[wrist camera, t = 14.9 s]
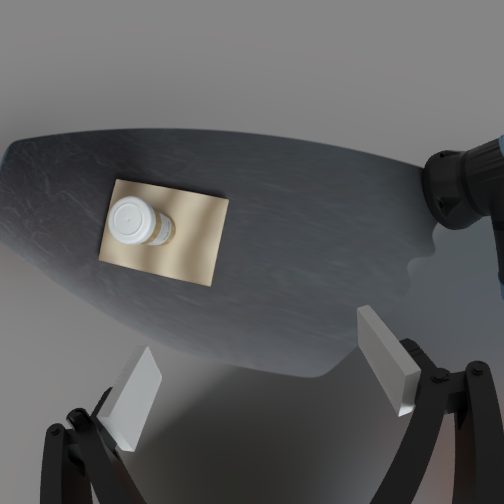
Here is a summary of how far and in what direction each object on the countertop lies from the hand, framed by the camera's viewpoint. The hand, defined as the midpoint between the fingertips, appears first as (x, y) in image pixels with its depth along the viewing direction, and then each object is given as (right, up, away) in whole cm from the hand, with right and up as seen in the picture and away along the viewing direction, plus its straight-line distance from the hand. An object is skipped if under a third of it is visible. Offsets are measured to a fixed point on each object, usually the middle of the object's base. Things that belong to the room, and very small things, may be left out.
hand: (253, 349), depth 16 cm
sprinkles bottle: (-13, +9, +22) cm, 26 cm away
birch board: (-13, +9, +23) cm, 28 cm away
